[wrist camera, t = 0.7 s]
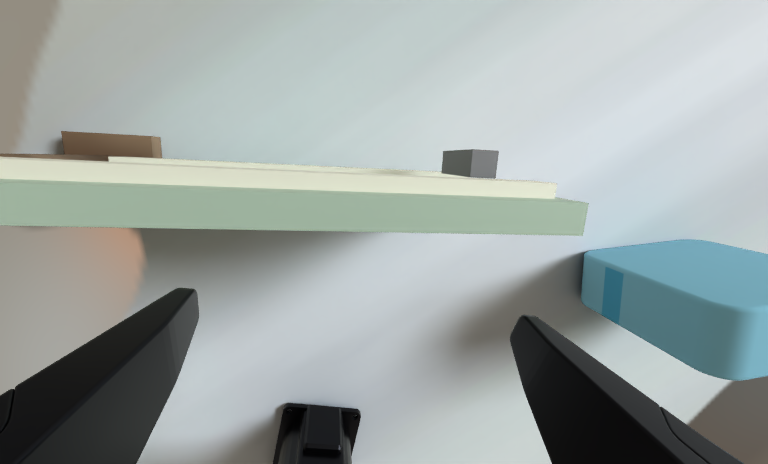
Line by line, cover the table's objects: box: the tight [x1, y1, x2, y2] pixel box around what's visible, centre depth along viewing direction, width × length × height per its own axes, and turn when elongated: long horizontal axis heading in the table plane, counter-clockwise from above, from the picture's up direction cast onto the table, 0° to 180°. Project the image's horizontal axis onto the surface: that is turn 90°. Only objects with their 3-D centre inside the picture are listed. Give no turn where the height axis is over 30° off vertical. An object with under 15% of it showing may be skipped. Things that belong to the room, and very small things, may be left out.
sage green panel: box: [0, 149, 589, 236], centre depth 17 cm, size 3×22×13 cm, turn 88°
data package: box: [581, 240, 768, 380], centre depth 25 cm, size 12×4×12 cm, turn 94°
